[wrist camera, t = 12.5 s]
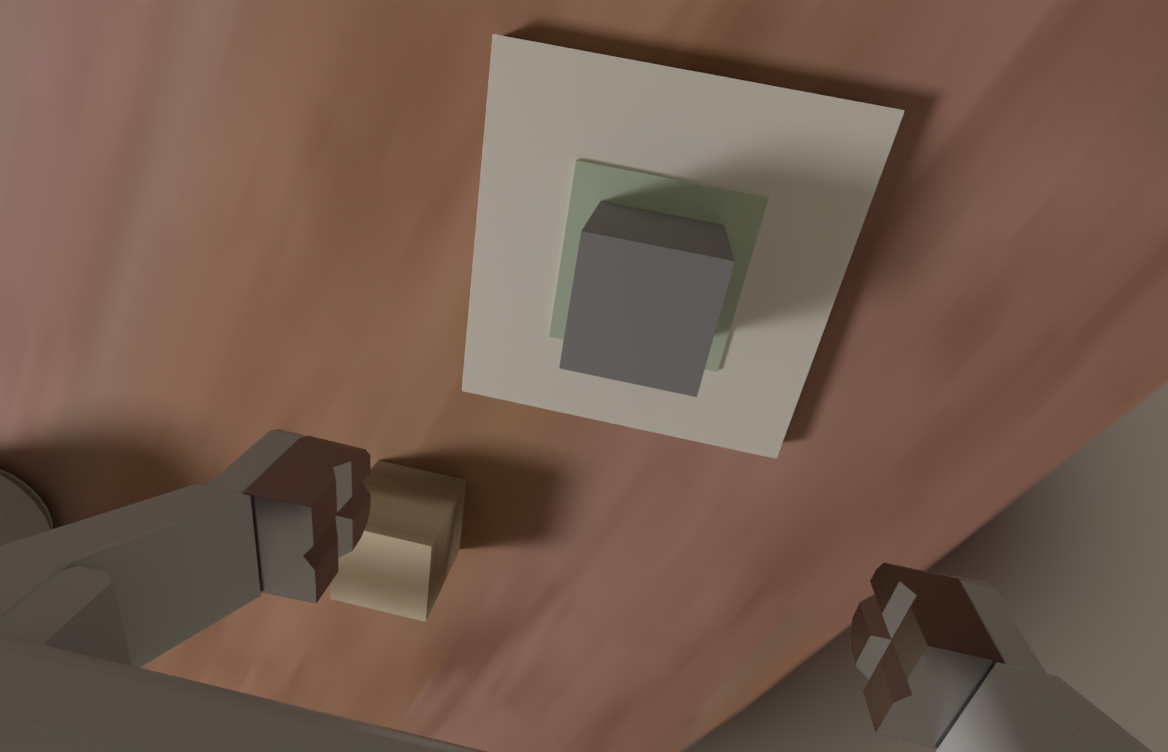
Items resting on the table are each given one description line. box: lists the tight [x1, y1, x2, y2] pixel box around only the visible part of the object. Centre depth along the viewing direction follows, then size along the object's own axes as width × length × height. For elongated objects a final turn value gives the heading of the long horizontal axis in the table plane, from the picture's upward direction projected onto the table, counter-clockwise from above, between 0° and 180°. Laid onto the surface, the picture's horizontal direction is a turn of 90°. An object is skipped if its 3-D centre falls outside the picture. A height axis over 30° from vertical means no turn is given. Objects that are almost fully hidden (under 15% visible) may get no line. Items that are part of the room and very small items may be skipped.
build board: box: [462, 34, 905, 459], centre depth 24 cm, size 14×14×1 cm
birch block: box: [330, 460, 467, 622], centre depth 30 cm, size 5×5×5 cm
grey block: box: [559, 201, 735, 397], centre depth 22 cm, size 5×5×5 cm
